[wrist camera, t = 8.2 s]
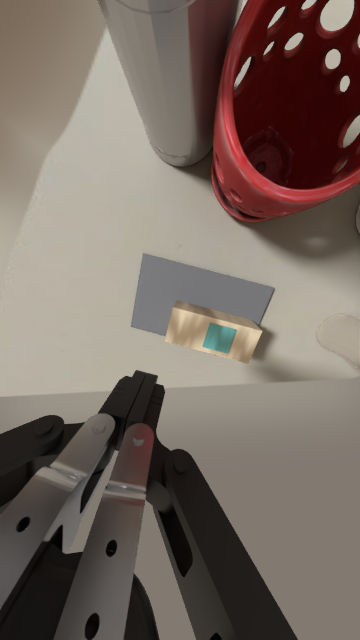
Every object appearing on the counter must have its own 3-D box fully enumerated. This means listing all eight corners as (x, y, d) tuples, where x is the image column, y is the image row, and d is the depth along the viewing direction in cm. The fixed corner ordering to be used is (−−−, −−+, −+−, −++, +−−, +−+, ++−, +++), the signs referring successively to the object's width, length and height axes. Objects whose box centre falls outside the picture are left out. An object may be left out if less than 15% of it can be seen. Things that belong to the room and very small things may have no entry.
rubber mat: (144, 253, 26) (143, 253, 25) (272, 287, 26) (274, 287, 25) (131, 325, 30) (130, 326, 29) (244, 355, 29) (244, 357, 29)
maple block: (172, 307, 22) (262, 331, 22) (176, 300, 27) (250, 319, 27) (164, 341, 24) (248, 364, 24) (169, 328, 29) (239, 347, 29)
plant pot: (208, 236, 25) (219, 211, 13) (206, 117, 21) (217, -66, 9) (306, 227, 23) (414, 189, 12) (323, 97, 19) (507, -147, 8)
